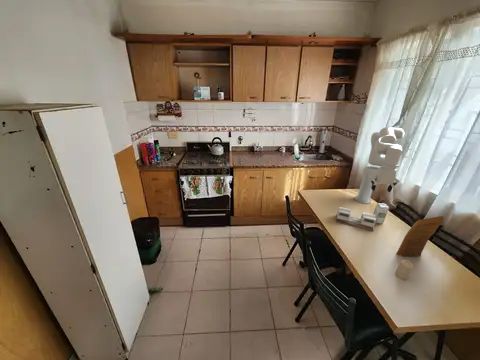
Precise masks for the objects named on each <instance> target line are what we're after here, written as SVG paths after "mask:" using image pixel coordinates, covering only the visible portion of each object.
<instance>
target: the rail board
mask: <svg viewBox="0 0 480 360" xmlns="http://www.w3.org/2000/svg"><path fill="white" fill-rule="evenodd" d="M351 211H352V210H351V208H346V207H343V206H342V207H341V206H338V208H337V212H336V218H335V219H336V220H335V222H336V223H340V224H343V225H347V226H350V227H351V226H352V227H353V228H354V227H356V228H359V229H363V230H365V231H366V230H367V231H371V232H374V229H375V225H376V223H375V222H376V216H375V215H374V214H373V213H368V212H364V211H363V212H362V213H361V216H360V218H358V217H353V216H351V214H352V212H351Z"/></svg>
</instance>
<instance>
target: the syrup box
mask: <svg viewBox="0 0 480 360" xmlns="http://www.w3.org/2000/svg"><path fill="white" fill-rule="evenodd" d="M389 209H390V207H389V206H388V205H387V204H386V203H382V202H381V203H380V202H378V203H376V205H375V208H374V211H373V213H372V214H374V215H375V216H376V222H375V224H381V225H383V224H384V222H385V219H386V216H387V214H388V212H389Z"/></svg>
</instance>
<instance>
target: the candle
mask: <svg viewBox="0 0 480 360" xmlns="http://www.w3.org/2000/svg"><path fill="white" fill-rule="evenodd" d="M414 267H415V266H414V264H413V263H412V262H411V261H410V260H409V259H401V260H400V262H399V264H398V266H397V269H396V270H395V276H396V277H398V278H399V279H400V280H402V281H407V280H408V279H409V277H410V275H411V274H412V271H413V269H414Z"/></svg>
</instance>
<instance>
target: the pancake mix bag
mask: <svg viewBox="0 0 480 360" xmlns="http://www.w3.org/2000/svg"><path fill="white" fill-rule="evenodd" d="M443 221H444V216H441V215H439V216H434V217H430V218H424V219H423V218H422V219H421V218H420V219H418V220H417V221H415V222H414V223H413V225H412V226H411V227H410V228H409V230H408V231H407V232H406V234H405V235H404V237H403V239H402V242H401V244H400V246H399V248H398V250H397V251H396V253H395V254H396V255H397V256H399V257H401V258H414V257H415V258H416V257H421V256H422V253H423V251H424V249H425V247H426V245H427V243H428V240H430V238H431V236H433V235H434V234H435V233H436V231H437V229H438V228H439V226H441V224H442V223H443Z"/></svg>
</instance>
